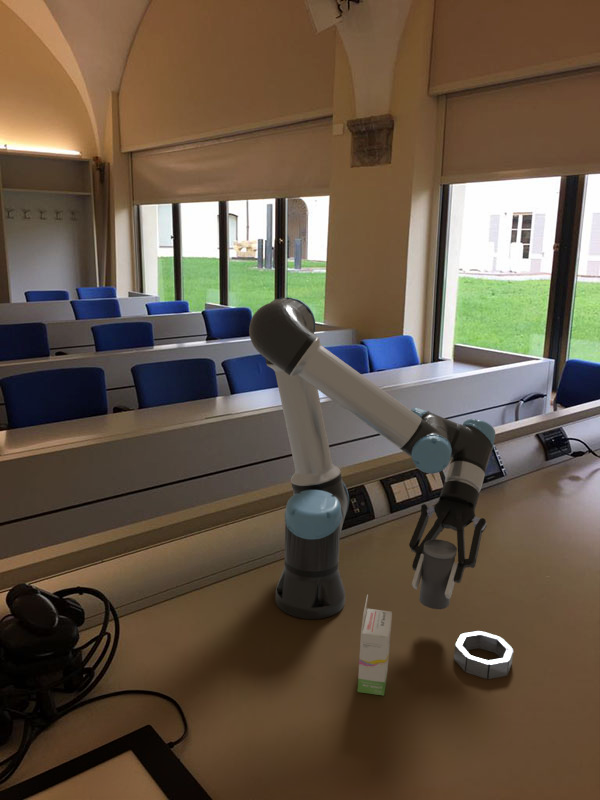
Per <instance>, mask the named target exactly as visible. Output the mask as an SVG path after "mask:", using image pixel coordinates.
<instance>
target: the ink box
mask: <svg viewBox="0 0 600 800" xmlns="http://www.w3.org/2000/svg"><path fill="white" fill-rule="evenodd" d="M368 597H369V594H366V599H365V603H364V608H363V613H362V621H361V622H362V623H361V628H360V643H359V644H360V645H359V657H358V658H359V659H358V660H359V661H358V676H357V677H358V678H357V693H363V694H367V695H368V694H370V695H376V696H385V691H386V685H387V676H388V669H389V659H390V657H389V656H390V645H391V633H392V632H391V631H392V622H393V621H392V618H393V612H392V611H391V610H390V611H389V610H383V609H380V610H379V609H375V608H374V609H373V608H367V606H368V605H367V604H368V599H369V598H368Z"/></svg>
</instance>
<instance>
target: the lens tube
mask: <svg viewBox="0 0 600 800" xmlns="http://www.w3.org/2000/svg"><path fill="white" fill-rule="evenodd" d="M457 554H458V546H456V545H455V544H454V543H452V542H450V541H448V540H445V539H437V538H436V539H434V540H428V541H426V542H425V543H424V559H423V569H422V576H421V579H420V589H419V599H418V600H419V602H420V603H421V605H422V606H425V607H426V608H429V609H434V610H444V609H446V608H448V607H449V606H450V600H451V598H450V599H448V598H446V596H445V591H446V587H447V584H448V580H449V577H450V574H451V570H452V567H453V564H454V563H455V561H456V560H455V559H456V556H457Z"/></svg>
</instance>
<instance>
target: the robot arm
mask: <svg viewBox="0 0 600 800" xmlns="http://www.w3.org/2000/svg"><path fill="white" fill-rule="evenodd" d="M248 327H249V329H248V330H249V332H248V333H249V338H250V342H251V344H252V345H253V347H254V348H255V350H256V351H257V352H258V353H259V354H260V355H261V356H262V357H263V358H265V359H264V360H265V364H266V366H267V367H269V368H270V369H272V370H273V371H274V373H275V374H274V375H275V377H276V383H277V387H278V393H279V398H280V402H281V407H282V412H283V417H284V421H285V426H286V430H287V431H286V432H287V435H288V440H289V445H290V450H291V455H292V459H293V464H294V470H295V472H294V473H293V475H292V476H291V478H290V482H291V483H290V484H291V489H292V493H293V495H292V496H291V497H290V498H289V499H288V501H287V503H286V507H285V511H284V522H285V524H284V564H283V565H284V566H283V569H282V572H281V575H280V577H279V580H278V582H277V585H276V588H275V598H274V599H275V604H276V606H277V607H278V608H279V609H280V611H282V612H283V613H285V614H287V615H290V616H292V617H293V618H294V617H295V618H299V619H306V620H319V619H326V618H329V617H332V616H334V615H336V614H338V613H340V612H341V611H342V610H343V609H344V607H345V604H346V590H345V586H344V584H343V580H342V576H341V574H340V573H341V572H340V571H339V569H340V568H339V563H340V562H339V561H340V541H341V540H340V539H341V532H342V528H343V527H344V526H343V524H344V521H345V517H346V515H347V513H348V509H349V504H350V496H349V492H348V488H347V486H346V484H345V482H344V481H343V477H342V472H341V469H340V468H339V467H338V466H336V465H335V464H333V462H332V461H333V460H332V456H331V455H332V454H331V450H330V445H329V440H328V436H327V430H326V425H325V420H324V419H325V418H324V414H323V410H322V409H323V408H322V404H321V399H320V395H319V392H321V393H322V394H323V395H325V396H326V397H327V398H329V399H330V400H332V401H333V402H335V403H336V404H338V406H341V408H343V409H344V410H346V411H347V412H348V413H350V414H351V415H352V416H354V417H355V418H356V419H358V420H359V421H361V422H362V423H364V424H365V425H366V426H368V427H369V428H370V429H371V430H373V431H374V432H376V433H377V434H379V435H380V436H381V437H383V438H384V439H386V440H387V441H388V442H390V443H392V444H393V445H394V446H395V447H397V448H398V449H400V450H401V451H402V452H404V453H405V454H406V455H408V456H409V457H410V458H411V461H412V462H413V464H414V465H415V467H416V468H417V469H418V470H420V471H421V472H423V473H426V474H437V473H438V474H439V473H440V472H442V471H444V470H445V469H447V467H448V466H449V467H448V470H447V474H446V476H445V479H444V483H443V485H442V488H441V492H440V495H439V498H438V501H437V502H436V504H434V505H427V504H425V503H423V504H422V505H420V512H421V513H420V516H419V517H418V521H417V523H416V527H415V529H414V531H413V534H412V536H411V539H410V541H409V544H408V546H409V548H410V551H411V552H413V553H415V555H414V559H413V562H412V565H411V566H412V570H413V571H414V574H413V577H412V578H413V579H412V581H411V585H412V588H413V589H415V590H418V589H419V586H420V584H421V578H422V569H423V559H424V543H425V542H426V541H428V540H434V539H437V538H438V537H439V535H440V534H441V533H442V532H443V531H444V529H450V530H452V531H454V532H456V539H457V542H456V544H457V562H454V564H453V567H452V570H451V574H450V577H449V580H448V584H447V587H446V591H445V596H446V598H448V599H450V600H451V597H452V594H453V591H454V587H455V584H456V583H457V584H460V583H461V582H462V579H463V575H464V571H465V569H466V568H472V569H473V568H475V567H476V566H477V565H476V564H477V561H478V560H477V559H478V556H479V551H480V550H479V549H480V545H481V542H482V541H481V540H482V536H483V533H484V531H485V530H486V529H487V521H486V519H485V518H484V517H482V518H480V517H478V516H476V513H475V511H476V507H477V504H478V500H479V496H480V491H481V489H482V487H483V483H484V479H485V475H486V472H487V468H488V464H489V461H490V458H491V455H492V451H493V450H494V444H495V440H496V431H495V428H494V427H493V426H492V425H491V424H490V423H488V422H487V421H485V420H482V419H476V418H469V419H467V420H464V421H463V422H462V424H461V423H460V424H459V423H457V422H454V421H453V420H450V419H447V418H445V417H442V416H440V415H437V414H435V413H432V412H430V411H429V410H425V409H422V408H419V407H413V408H411V409H409V407H407V406H406V405H404V404H403V403H401V402H400V401H399V400H397V399H395V398H394V397H393V396H392V395H390V394H389V393H388V392H386V391H385V390H383V389H382V388H380V387H379V386H378V385H376V384H375V383H374V382H372V381H371V380H369V379H368V378H367V377H365V375H363V374H361V373H360V372H358V371H357V370H356V369H354V368H353V367H352V366H350V365H349V364H348V363H346V362H344V360H342V359H340V357H338V356H337V355H335V354H334V353H332V352H331V351H330V350H329V349H327V348H326V347H323V346H322V344H321V341H320V337H319V336H317V335H316V334H315V332H316V318H315V315H314V313H313V311H312V309H311V308H310V307H309V306H308V304H306V303H305V302H304V301H302V300H301V299H298V298H294V297H289V296H287V297H280V298H277V299H273V300H272V301H271V302H268V303H266V304H264V305H262V306H261V307H260V308H258V309H257V310H256V311H255V312H254V314H253V315H252V317H251V320H250V323H249V326H248ZM433 513H435V515H436V517H437V518H436V520H435V521H434V524H433V525H432V527H431V528H430V530H429V531H428V533H427V534H426V535H425V536H424V533H425V530H426V527H427V525H428V522H429V518H431V517H432V515H433ZM471 523H473V526H474V527H473V528H474V529H473V535H472V540H471V544H470V549H469V554H468V557H467V558H466V545H465V544H466V543H465V528H466V527H467V526H469V525H470V524H471ZM423 536H424V538H423V540H422V537H423ZM421 540H422V541H421Z"/></svg>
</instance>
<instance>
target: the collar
mask: <svg viewBox="0 0 600 800" xmlns="http://www.w3.org/2000/svg"><path fill="white" fill-rule="evenodd" d="M477 649H481V650H484V651H488V652H492V653H494V654H496V655H497V656H498V658H494V659H489V660H488V659H484V658H482V657H478V656H474V655H471V654H470V653H469V651H470V650H477ZM513 656H514V648H512V646H511V645H510V644H509V643H508V642H507V641H506V640H505V639H504V638H503V637H501V636H498V635H496V634H492V633H490V632H486V631H481V630H476V631H470V632H464V633H461V634H460V635H459V637H458V638H457V641H456V642H455V645H454V655H453V660H454V661H455V662H456V663H457V664H458V666H459V667H460V668H461V669H462V670H463V672H465V673H466V674H469V675H473V676H477V677H478V678H482V679H486V680H487V679H488V680H491V679H497V678H498V679H499V678H502V677H506V676H508V675H509V672H510V670H511V667H512V665H513Z"/></svg>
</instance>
